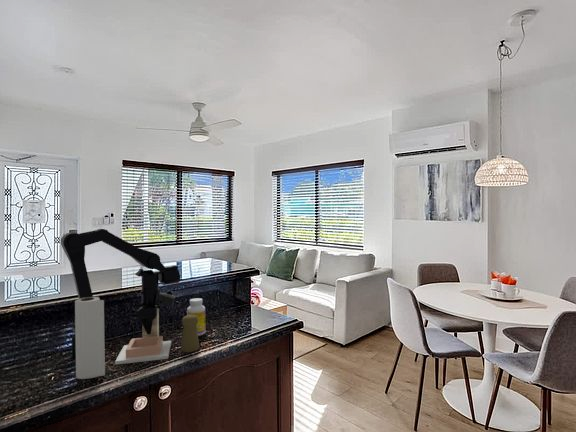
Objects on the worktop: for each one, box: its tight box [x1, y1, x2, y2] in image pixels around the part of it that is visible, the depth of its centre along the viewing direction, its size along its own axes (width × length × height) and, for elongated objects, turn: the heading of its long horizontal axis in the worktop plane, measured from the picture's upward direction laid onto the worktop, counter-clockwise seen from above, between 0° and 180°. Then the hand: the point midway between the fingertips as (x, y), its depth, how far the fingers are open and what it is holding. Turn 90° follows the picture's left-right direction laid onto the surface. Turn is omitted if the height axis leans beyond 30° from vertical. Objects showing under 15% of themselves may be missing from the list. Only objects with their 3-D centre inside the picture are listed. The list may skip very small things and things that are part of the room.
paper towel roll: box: [74, 296, 106, 380], centre depth 95 cm, size 7×6×21 cm
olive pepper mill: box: [180, 314, 200, 353], centre depth 114 cm, size 6×6×11 cm
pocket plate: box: [114, 335, 172, 365], centre depth 110 cm, size 15×13×4 cm
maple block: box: [141, 308, 160, 338], centre depth 124 cm, size 5×5×10 cm
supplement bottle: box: [186, 297, 207, 337], centre depth 128 cm, size 7×7×13 cm
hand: (150, 329), depth 124 cm, fingers open, 9 cm apart
